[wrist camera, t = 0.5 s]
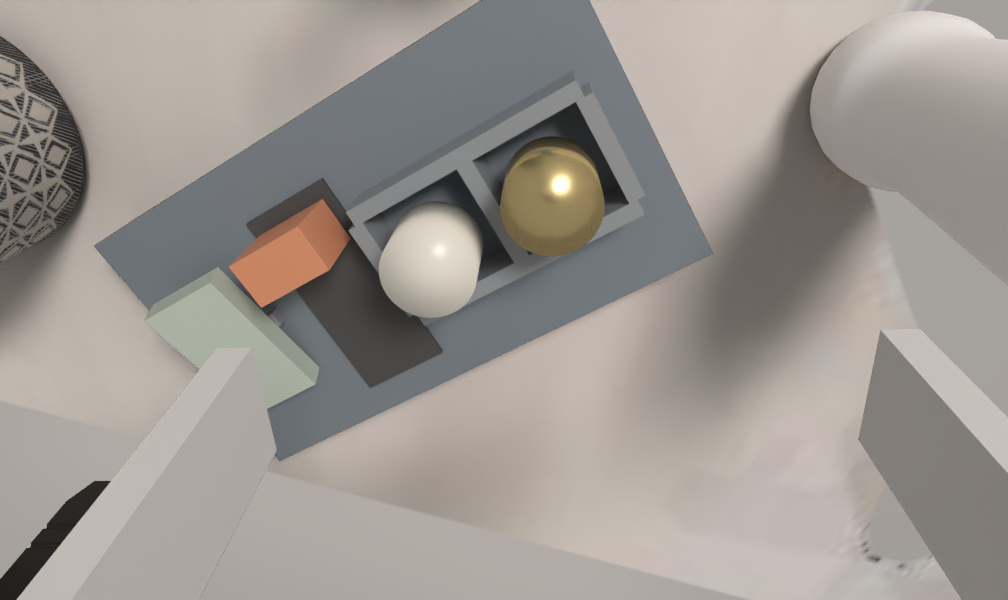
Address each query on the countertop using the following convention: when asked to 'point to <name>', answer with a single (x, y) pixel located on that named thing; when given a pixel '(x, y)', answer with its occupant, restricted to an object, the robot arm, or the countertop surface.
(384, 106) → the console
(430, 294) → the button ivory
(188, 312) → the block
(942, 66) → the bottle
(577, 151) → the button brass
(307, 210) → the slider knob
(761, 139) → the countertop surface
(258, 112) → the countertop surface
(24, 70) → the planter
